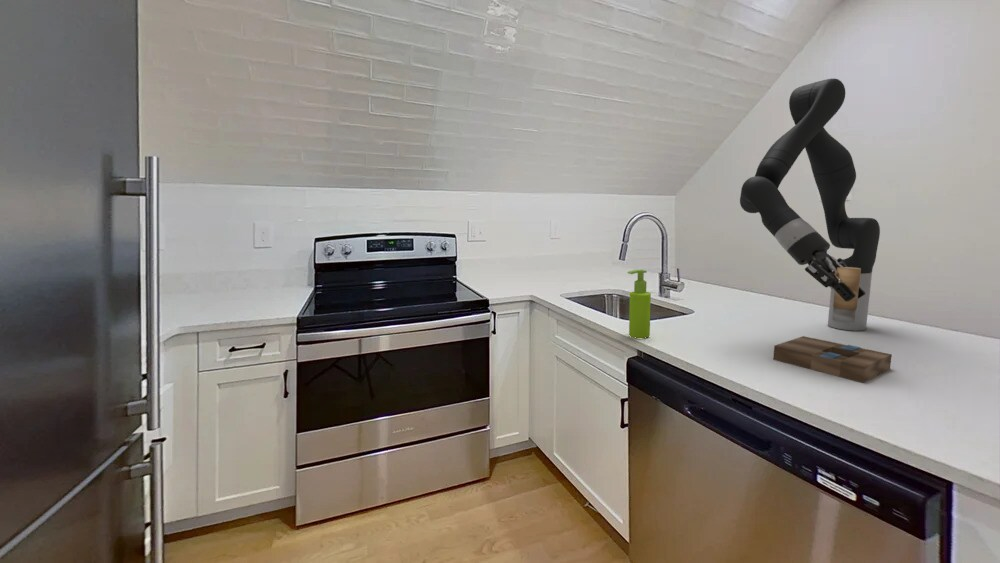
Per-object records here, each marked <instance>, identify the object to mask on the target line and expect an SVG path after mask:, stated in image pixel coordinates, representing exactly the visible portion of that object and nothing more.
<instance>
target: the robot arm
mask: <svg viewBox="0 0 1000 563" xmlns="http://www.w3.org/2000/svg"><path fill="white" fill-rule="evenodd" d="M845 98H846V88H845V85H844V83H843V82H842V80H840V79H838V78H826V79H822V80H818V81H814V82H812V83H808V84H804V85H801V86H799V87H798V86H797V88H795V89H793V91H791V94H790V96H789V100H788V107H789V112H790V115H791V118H792V121H793V122H794V126H792V128H790V129H789V130H788V131H786V132H785V133H784V134H782V136H780V137H779V138H778V139H777V140H776V141H775V142H774V143H773V144H772V145H770V147H769V149H768V150H767V151H766V153H765V155H764V156H763V158H762V159H761V160H760V162H759V163H758V166H757V169H756V173H755V175H754V176H752V177H749V178H747V180H745V181H744V182H743V184H742V187H741V189H740V195H739V196H740V197H739V205H740V207H741V209H742V210H743V211H745V212H746V213H749V214H757V213H759V215H760V218H761V223H762V225H763V226H764V228H766V229H767V231H769V233H771V235H772V236H773V237H774V238H775V239H776V241H777V242H778V244H779V245H780V246H781V247H782V248H783V249H784V251H785V252H787V253H788V255H789V256H790V257H791V258H792V259H793V260H794V261H795V262H796V263H797V264H798V265H800V266H805V265H808V266H806V267H805V268H804V270H805V272H807V273H808V274H809V275H810V276H811V277H812V278H814V279H815V280H816V282H817V281H818V283H819V284H821V286H823V287H824V288H830V295H829V296H830V298H829V307H828V308H829V309H828V315H827V316H828V318H827V326H829V327H831V328H834V329H839V330H844V331H859V332H860V331H865V330H867V325H868V324H867V323H868V314H869V306H870V304H869V303H870V295H871V285H872V275H873V270H874V269H873V268H874V265H875V263H876V258H877V252H878V246H879V242H880V236H881V234H880V233H881V227H880V223H879V222H878V220H877V219H875V218H873V217H849V216H848V215H847V211H846V200H847V199H848V196H849V194H850V193H851V191H852V188H853V186H854V185H855V182H856V180H857V172H856V167H855V164H854V163H855V162H854V160H853V156H852V155H851V153H850V151H849V150H848V149H847V148H846V147H845V146H844V145H843V144H842V143H840V141H838V140H837V139H836V138H835V137H833V136H832V135H831V134H830V133H829V132H828V131H827V130H826V128H825V126H826V124H828V122H830V121H831V119H832V118H833V117H834V116H835V115H836V114H837V112H839V110H840V109H841V108H842V105H843V104H844V102H845ZM804 150H805V151H806V153H807V158H808V160H809V163H810V164H809V165H810V168H811V171H812V175H813V179H814V182H815V184H816V188H817V189H818V193H819V196H820V201H821V204H822V208H823V213H824V219H825V224H826V230H827V234H828V239H829V240H830V242H829V241H827V240H826V239H825V238H824V237H823V236H822V235H821V234H820V233H819V232H818V231H817V230H816V229H815V228H814V227H812V226H813V225H811V224H810V223H809V222H807V221H806V220H804V219H803V218H802V217H801V215H799V214H798V213H797V212H796V211H795V210H794V209H793V208H792V207H790V206H789V205H788V203H787V201H786V199H785V198H784V195H782V193H781V191H780V190H779V186H780V185H781V183H782V182H783V180H784V178H785V177H786V176H787V174H788V173H789V172H790V170H791V169H792V167H793V165H794V164H795V162H796V160H798V158H799V156H800V155H801V154H802V152H803V151H804ZM830 243H831V244H830ZM831 245H832V246H834V247H835V248H838V249H846V250H847V249H848V250H853V252H852V254H851V255H850V256H849V257H847V258H845V259H844V258H843V259H842V258H840V257H838V258H837V259H836V258H835V257H834V256H831V255H829V253H828V250H829V249H830V248H831ZM837 267H853V268H861V274H860V283H859V292H858V301H857V309H856V314H855V322H840V321H835V320H833V319H832V318H833V308H834V307H833V303H834V293H835V291H836V292H837V293H838V294H839V295H840V296H841V297H842V298H843V299H844V300H845V301H850V300H852V299H853V298H855V297H856V295H855V294H854V292H853V291H852V290H851V289H850V288H849V287H848V286H847V285H846V284H845V283H843V281H842V280H841V279H840V277H839V276H838V271H837Z"/></svg>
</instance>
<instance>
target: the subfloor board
mask: <svg viewBox="0 0 1000 563" xmlns="http://www.w3.org/2000/svg"><path fill="white" fill-rule="evenodd" d="M772 359H773V360H775V361H779V362H782V363H787V364H791V365H794V366H796V367H797V366H798V367H801V368H806V369H809V370H813V371H817V372H820V373H825V374H828V375H832V376H837V377H839V378H844V379H847V380H850V381H855V382H859V383H863V384H864V383H865V382H867V381H869V380H871V379H873V378H875V377H877V376H879V375H881V374H883V373H885V372H887V371H890V370H891V363H892V353H886V352H882V351H878V350H872V349H868V348H864V347H863V348H862V347H861V346H857V345H851V344H842V343H838V342H833V341H829V340H824V339H818V338H813V337H809V336H805V335H803V336H799V337H796V338H794V339H791V340H788V341H784V342H781V343H779V344H775V345H774V346H773V357H772Z"/></svg>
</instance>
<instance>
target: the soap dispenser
mask: <svg viewBox="0 0 1000 563" xmlns="http://www.w3.org/2000/svg"><path fill="white" fill-rule="evenodd" d="M647 272H648V271H647V270H644V269H633V270H629V271H627V274H629V275H634V274H637V279H636V280H634V285H633V286H634V290H633V291H631V292H629V310H628V311H629V316H628V317H629V320H628V321H629V322H628V323H629V324H628V336H629V335H630V336H631V337H630V336H629V337H630V338H632V337H636V338H635V339H637V338H645V337H649V336H650V335H651V334H650V333H651V332H650V331H651V330H650V329H651V300H652V299H651V296H652V295H651V292H648V291H647V280H644V276H645V275H644V274H646V273H647ZM649 338H650V337H649Z"/></svg>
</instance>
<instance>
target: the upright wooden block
mask: <svg viewBox="0 0 1000 563" xmlns="http://www.w3.org/2000/svg"><path fill="white" fill-rule="evenodd" d="M837 271H838V276H839V277H840V279H841V280H842V281H843V283H845V284H846V285H847V286H848V287H849V288H850V289H851V290H852V291H853V292H854V294H855V295H856V297H855V298H853V299H852V300H850V301H845V300H844V299H843V298H842V297H841V296H840V295H839V294H838V293H837V292H836V291H835V293H834V303H833V307H834V308H833V318H832V319H833V320H835V321H840V322H855V314H856V309H857V301H858V292H859V283H860V274H861V268H853V267H837Z"/></svg>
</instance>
